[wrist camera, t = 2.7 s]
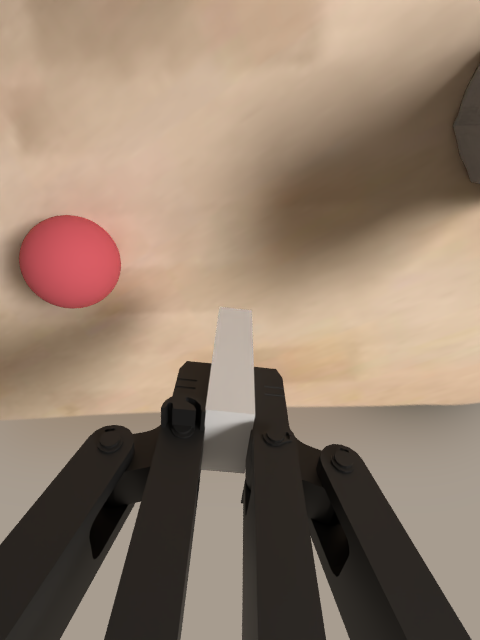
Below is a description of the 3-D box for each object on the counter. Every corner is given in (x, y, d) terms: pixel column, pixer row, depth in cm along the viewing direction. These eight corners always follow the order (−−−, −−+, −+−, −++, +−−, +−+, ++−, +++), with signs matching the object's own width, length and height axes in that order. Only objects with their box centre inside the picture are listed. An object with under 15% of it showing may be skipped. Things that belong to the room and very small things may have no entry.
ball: (53, 280, 25) (9, 320, 20) (40, 201, 22) (-14, 224, 18) (132, 289, 25) (107, 329, 21) (129, 211, 23) (99, 237, 18)
